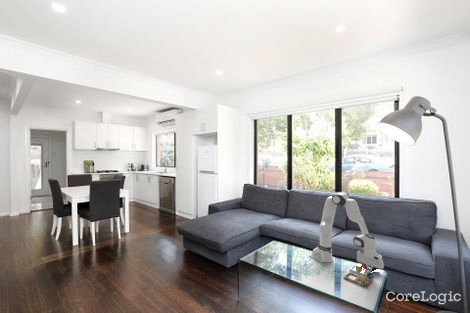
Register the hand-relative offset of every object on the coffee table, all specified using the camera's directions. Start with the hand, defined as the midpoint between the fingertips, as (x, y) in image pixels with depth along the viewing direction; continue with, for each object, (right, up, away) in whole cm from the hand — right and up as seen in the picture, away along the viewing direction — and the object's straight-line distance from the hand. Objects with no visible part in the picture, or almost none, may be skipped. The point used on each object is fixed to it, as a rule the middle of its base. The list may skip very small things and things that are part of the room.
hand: (369, 269), depth 196 cm
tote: (-5, -6, +9) cm, 12 cm away
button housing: (-1, -7, 0) cm, 7 cm away
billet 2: (-10, -7, -8) cm, 14 cm away
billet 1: (-5, -6, +9) cm, 12 cm away
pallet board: (-13, -7, -4) cm, 15 cm away
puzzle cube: (+7, -7, +12) cm, 15 cm away
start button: (-1, -4, 0) cm, 4 cm away
